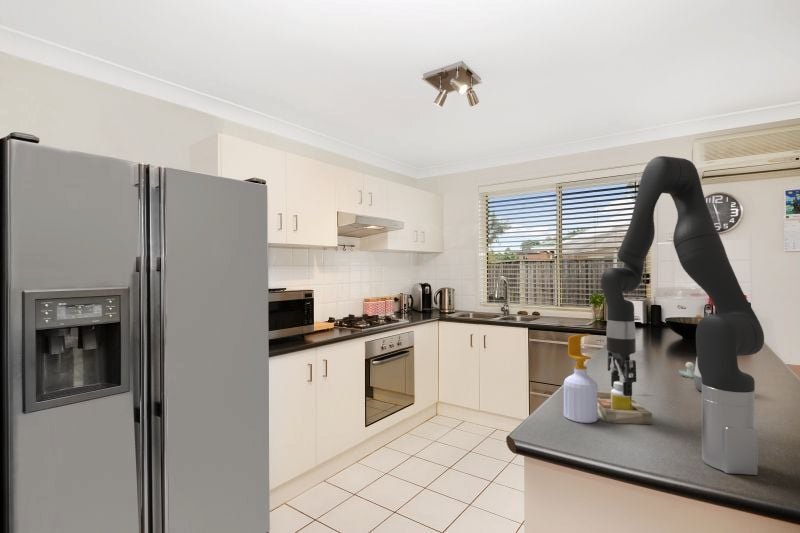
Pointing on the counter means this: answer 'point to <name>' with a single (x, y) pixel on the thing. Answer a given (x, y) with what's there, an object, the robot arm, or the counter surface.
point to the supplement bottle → (620, 398)
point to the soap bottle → (580, 387)
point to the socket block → (622, 411)
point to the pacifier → (688, 370)
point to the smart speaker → (697, 378)
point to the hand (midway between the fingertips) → (621, 391)
